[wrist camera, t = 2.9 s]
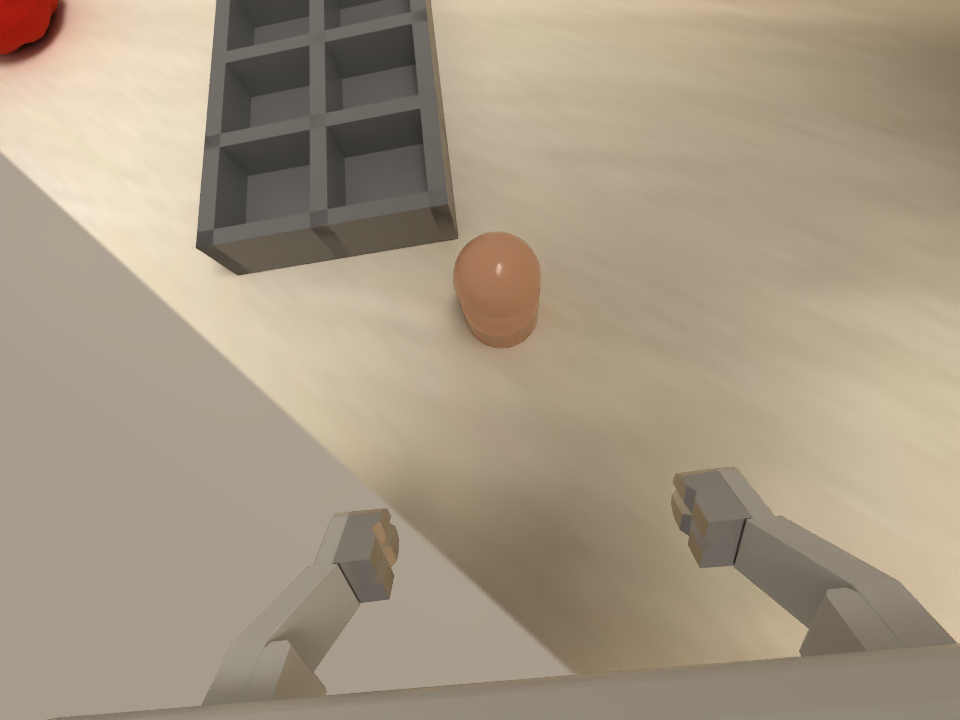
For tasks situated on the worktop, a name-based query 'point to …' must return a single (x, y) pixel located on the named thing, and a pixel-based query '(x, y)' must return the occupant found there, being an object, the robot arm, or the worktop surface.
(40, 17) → the tomato
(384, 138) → the egg carton
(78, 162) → the worktop surface
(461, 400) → the worktop surface
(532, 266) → the terracotta egg
